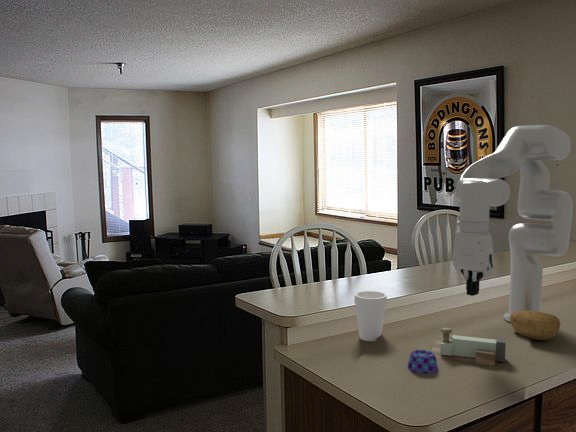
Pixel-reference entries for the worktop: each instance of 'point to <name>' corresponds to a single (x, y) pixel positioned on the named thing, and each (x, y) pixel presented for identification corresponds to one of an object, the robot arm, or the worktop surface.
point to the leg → (473, 346)
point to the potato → (535, 324)
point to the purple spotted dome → (422, 362)
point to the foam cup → (370, 313)
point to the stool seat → (481, 356)
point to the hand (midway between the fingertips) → (472, 294)
